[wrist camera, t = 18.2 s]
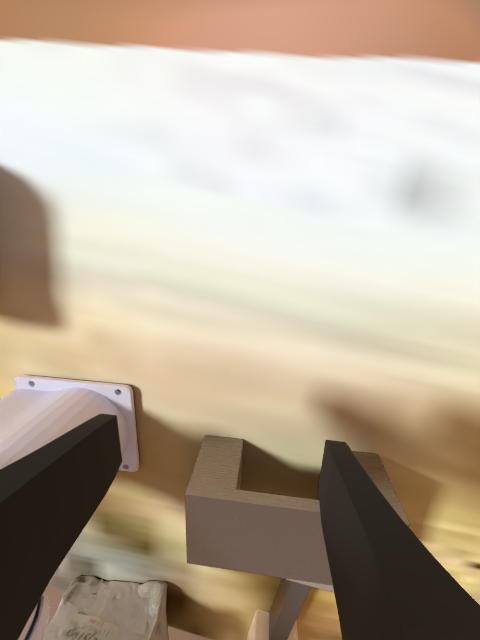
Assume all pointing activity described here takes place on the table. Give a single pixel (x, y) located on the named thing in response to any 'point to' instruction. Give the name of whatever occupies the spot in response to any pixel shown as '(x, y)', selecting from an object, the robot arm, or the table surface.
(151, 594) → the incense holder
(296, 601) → the dumbbell with block ends
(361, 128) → the table surface
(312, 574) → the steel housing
